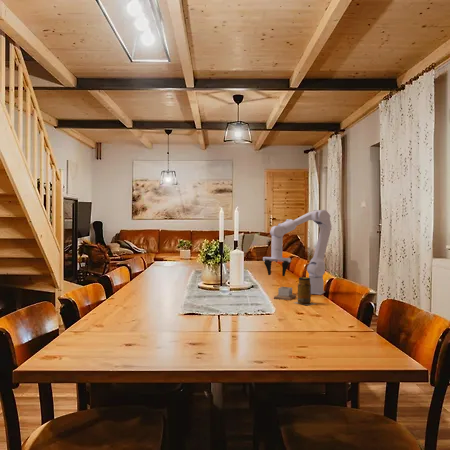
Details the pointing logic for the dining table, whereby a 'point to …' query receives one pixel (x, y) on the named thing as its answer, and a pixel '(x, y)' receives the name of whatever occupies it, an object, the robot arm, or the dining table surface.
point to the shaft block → (285, 297)
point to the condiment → (304, 291)
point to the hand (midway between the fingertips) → (276, 275)
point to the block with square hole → (285, 291)
